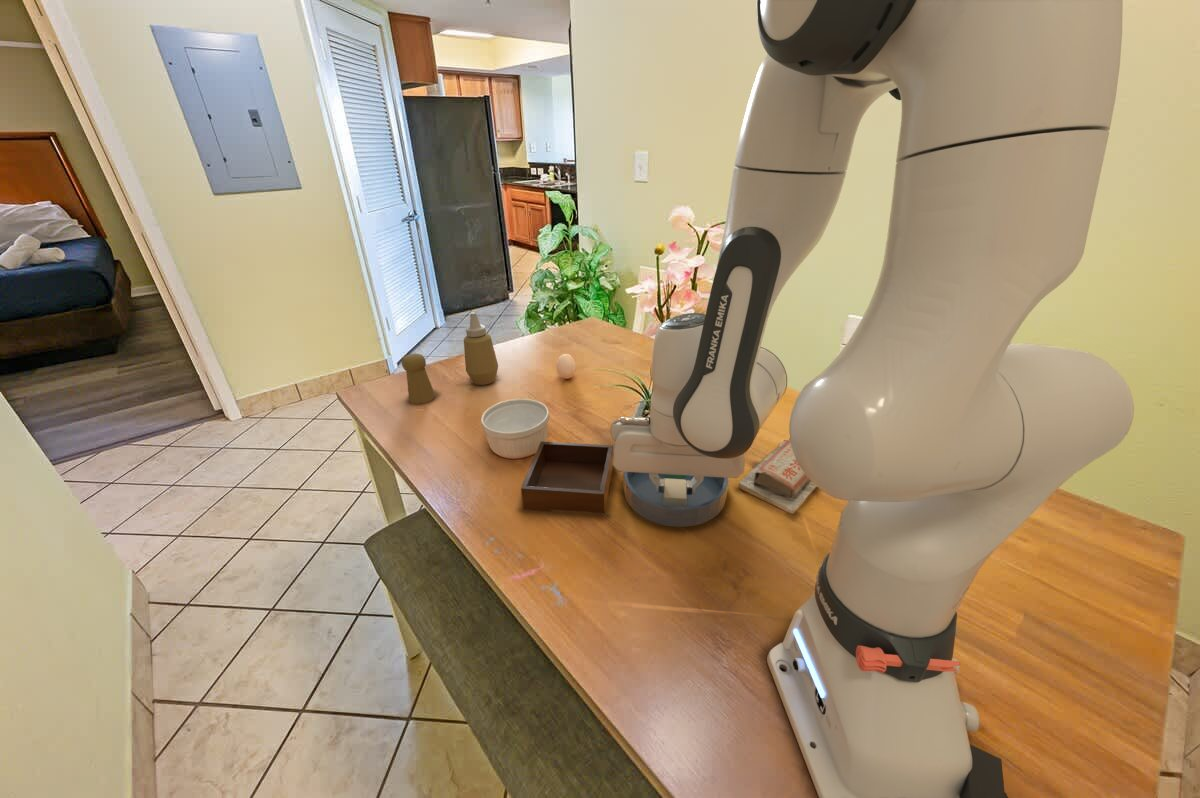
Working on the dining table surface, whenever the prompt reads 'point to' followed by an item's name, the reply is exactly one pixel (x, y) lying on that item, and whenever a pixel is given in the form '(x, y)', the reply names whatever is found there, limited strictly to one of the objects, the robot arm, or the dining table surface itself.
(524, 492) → the tray
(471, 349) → the squeeze bottle
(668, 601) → the dining table surface
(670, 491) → the beige block
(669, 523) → the bowl
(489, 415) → the ramekin
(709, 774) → the dining table surface
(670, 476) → the teal rectangular block
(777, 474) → the packaged product
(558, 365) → the egg
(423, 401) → the pepper mill
